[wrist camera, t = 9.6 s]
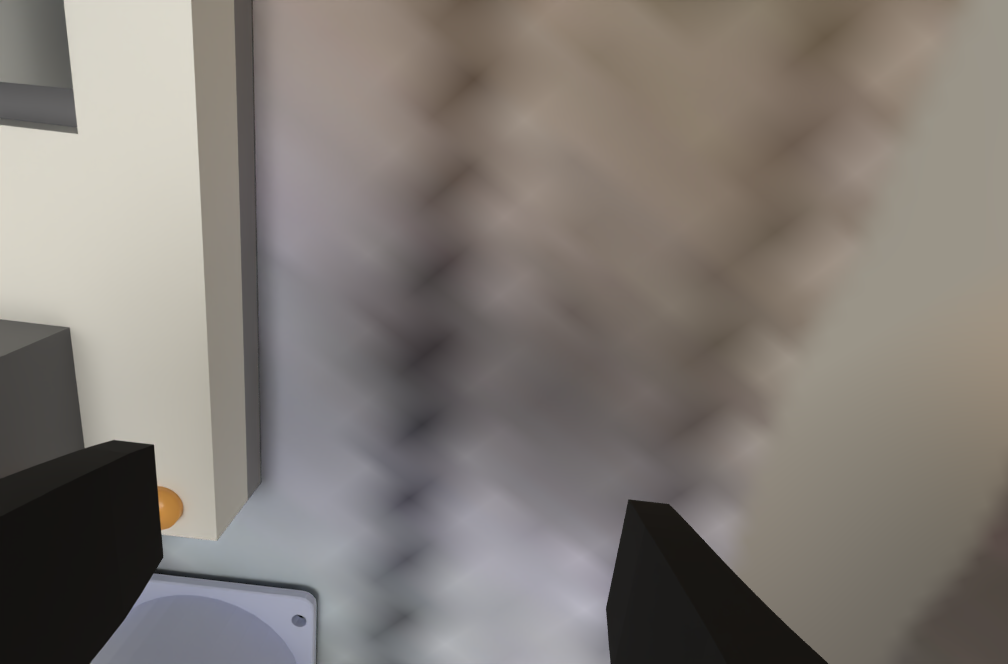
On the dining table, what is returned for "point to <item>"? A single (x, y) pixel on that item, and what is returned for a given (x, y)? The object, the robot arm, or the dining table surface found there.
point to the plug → (34, 43)
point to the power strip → (146, 239)
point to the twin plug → (37, 396)
